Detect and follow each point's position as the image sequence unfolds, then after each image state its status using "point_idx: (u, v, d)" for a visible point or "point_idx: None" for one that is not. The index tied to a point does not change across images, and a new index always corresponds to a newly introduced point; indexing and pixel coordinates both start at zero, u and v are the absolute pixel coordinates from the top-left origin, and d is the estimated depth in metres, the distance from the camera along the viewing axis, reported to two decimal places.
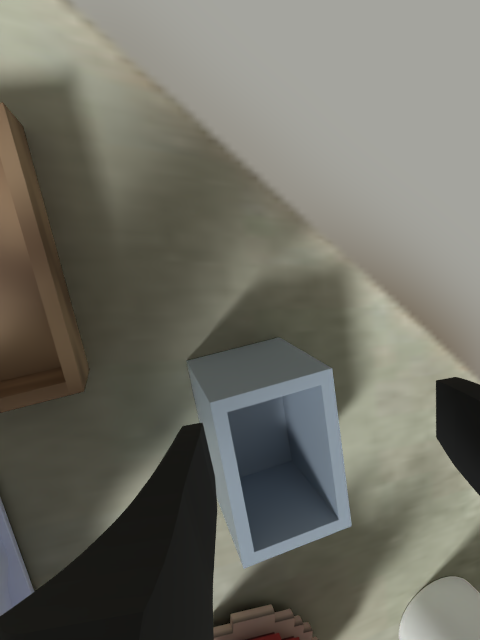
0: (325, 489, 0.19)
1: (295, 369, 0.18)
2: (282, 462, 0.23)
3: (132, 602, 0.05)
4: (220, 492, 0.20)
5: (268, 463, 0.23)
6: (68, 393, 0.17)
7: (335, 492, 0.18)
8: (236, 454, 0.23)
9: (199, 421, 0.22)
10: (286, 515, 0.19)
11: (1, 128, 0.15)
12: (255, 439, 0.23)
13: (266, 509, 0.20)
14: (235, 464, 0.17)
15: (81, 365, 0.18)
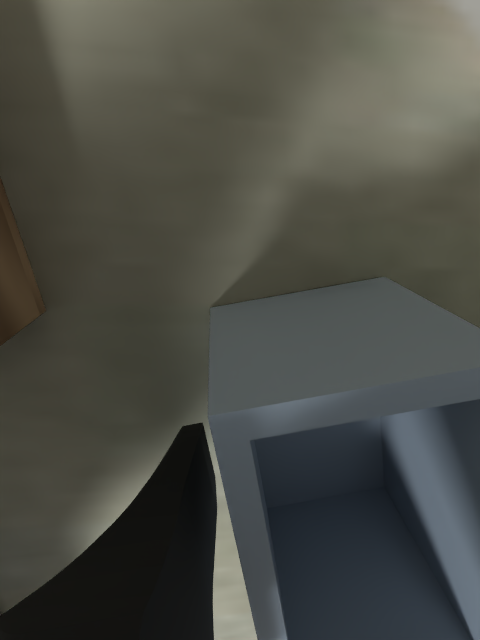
0: (454, 584, 0.10)
1: (427, 349, 0.07)
2: (367, 488, 0.14)
3: (132, 602, 0.05)
4: None
5: (343, 487, 0.14)
6: None
7: None
8: (289, 468, 0.14)
9: None
10: (368, 611, 0.10)
11: None
12: (323, 447, 0.13)
13: (331, 586, 0.11)
14: (265, 546, 0.07)
15: (2, 303, 0.10)
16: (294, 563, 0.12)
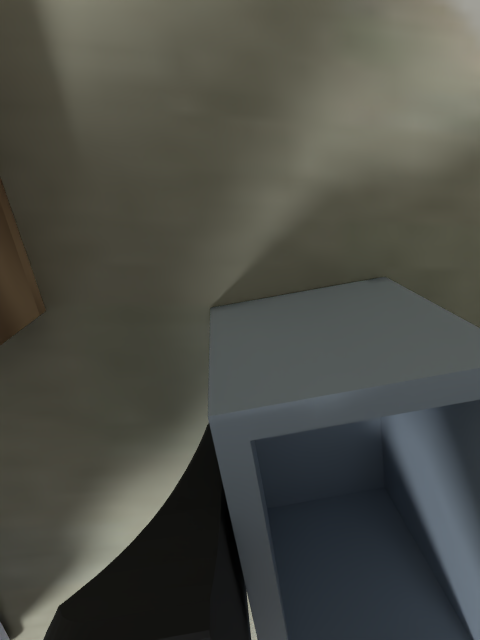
0: (455, 585, 0.10)
1: (427, 350, 0.07)
2: (367, 488, 0.14)
3: (195, 590, 0.05)
4: None
5: (343, 487, 0.14)
6: None
7: None
8: (289, 468, 0.14)
9: None
10: (368, 612, 0.10)
11: None
12: (323, 448, 0.13)
13: (331, 586, 0.11)
14: (265, 546, 0.07)
15: (2, 303, 0.10)
16: (294, 563, 0.12)
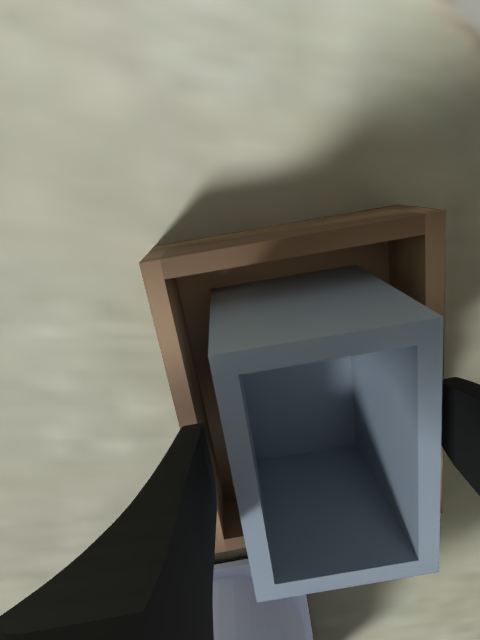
0: (401, 507, 0.12)
1: (371, 313, 0.10)
2: (341, 445, 0.17)
3: (132, 602, 0.05)
4: None
5: (321, 443, 0.17)
6: None
7: (418, 521, 0.11)
8: (275, 426, 0.16)
9: None
10: (334, 531, 0.13)
11: (435, 241, 0.12)
12: (304, 409, 0.16)
13: (306, 514, 0.14)
14: (249, 458, 0.10)
15: None
16: (277, 499, 0.14)
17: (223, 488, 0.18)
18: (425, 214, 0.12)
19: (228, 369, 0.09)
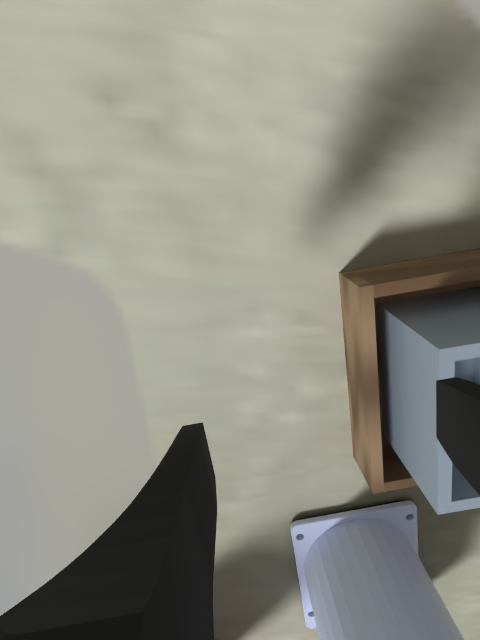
0: None
1: None
2: None
3: (132, 602, 0.05)
4: (407, 438, 0.20)
5: None
6: None
7: None
8: None
9: (380, 366, 0.22)
10: None
11: None
12: None
13: None
14: None
15: None
16: None
17: None
18: None
19: (449, 358, 0.15)
